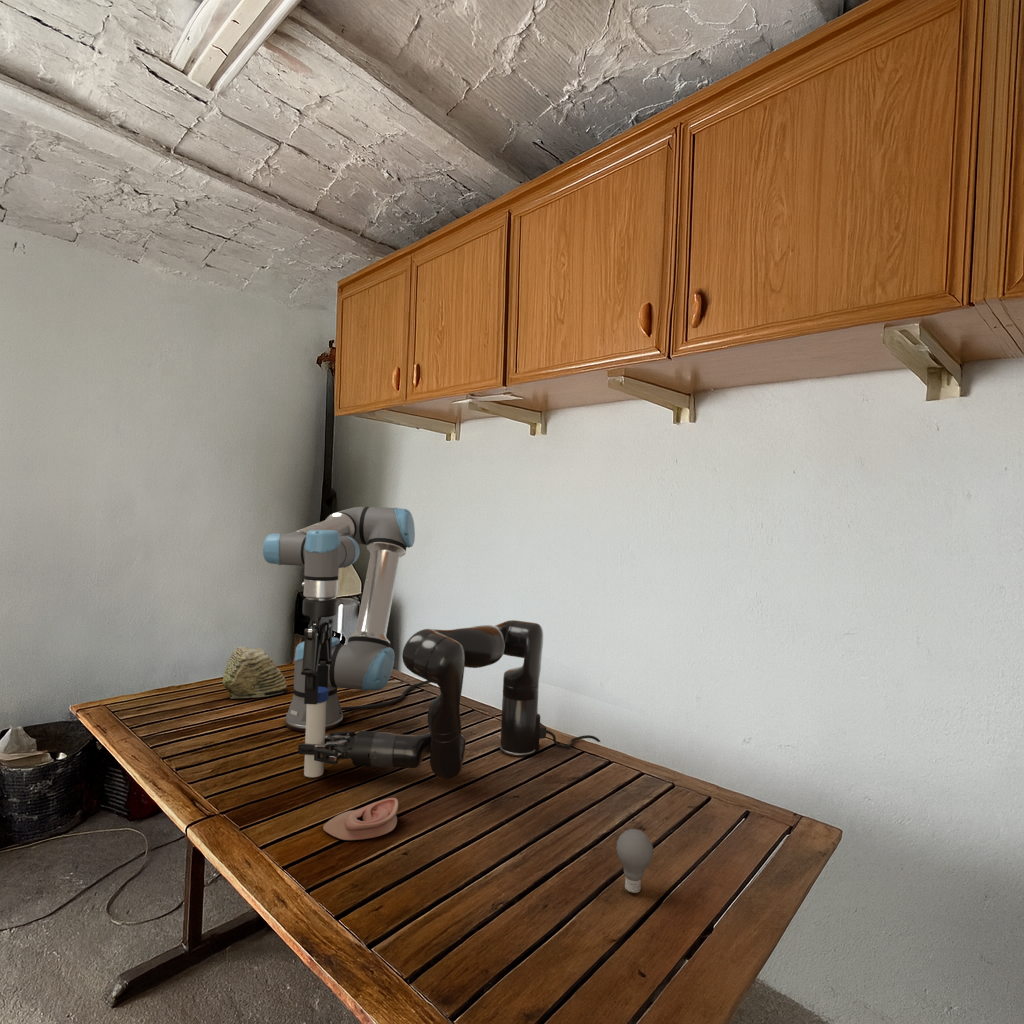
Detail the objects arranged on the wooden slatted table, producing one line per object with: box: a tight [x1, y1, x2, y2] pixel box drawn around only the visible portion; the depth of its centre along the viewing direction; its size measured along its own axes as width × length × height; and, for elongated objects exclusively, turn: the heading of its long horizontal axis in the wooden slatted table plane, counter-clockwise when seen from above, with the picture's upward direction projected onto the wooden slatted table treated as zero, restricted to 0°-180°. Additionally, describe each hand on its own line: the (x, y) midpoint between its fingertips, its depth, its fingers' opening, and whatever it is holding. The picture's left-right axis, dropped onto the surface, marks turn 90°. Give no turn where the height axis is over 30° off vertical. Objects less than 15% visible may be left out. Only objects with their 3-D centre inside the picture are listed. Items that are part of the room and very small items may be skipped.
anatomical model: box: [322, 797, 399, 841], centre depth 122 cm, size 13×4×12 cm
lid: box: [317, 687, 329, 703], centre depth 144 cm, size 5×5×2 cm
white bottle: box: [303, 701, 326, 778], centre depth 145 cm, size 4×4×19 cm
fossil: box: [222, 646, 288, 699], centre depth 198 cm, size 9×18×15 cm, turn 132°
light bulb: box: [615, 828, 654, 894], centre depth 106 cm, size 6×6×10 cm
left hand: (316, 698), depth 144 cm, fingers open, 7 cm apart
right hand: (303, 744), depth 145 cm, fingers closed on white bottle, 4 cm apart
